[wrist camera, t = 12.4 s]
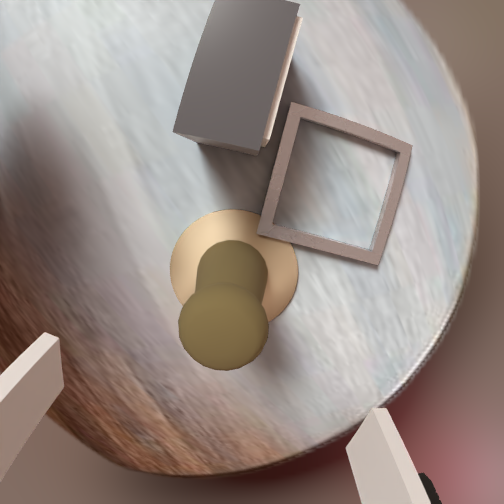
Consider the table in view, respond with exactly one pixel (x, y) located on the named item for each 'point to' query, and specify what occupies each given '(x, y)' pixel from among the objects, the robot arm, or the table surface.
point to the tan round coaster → (242, 229)
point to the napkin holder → (239, 74)
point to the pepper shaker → (226, 307)
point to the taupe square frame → (280, 170)
